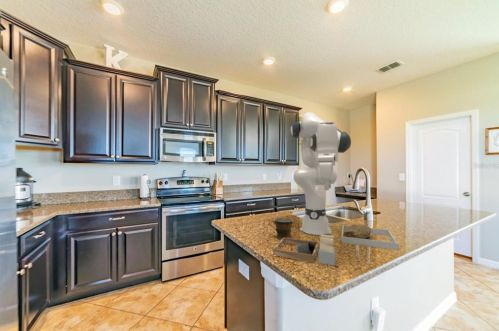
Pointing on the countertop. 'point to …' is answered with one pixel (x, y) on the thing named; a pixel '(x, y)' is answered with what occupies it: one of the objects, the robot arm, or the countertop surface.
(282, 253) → the oak cake frame
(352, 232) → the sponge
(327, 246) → the maple block
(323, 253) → the slate block
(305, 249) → the chocolate cake
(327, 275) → the countertop surface
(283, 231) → the ceramic cup
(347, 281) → the countertop surface
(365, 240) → the grey square frame
